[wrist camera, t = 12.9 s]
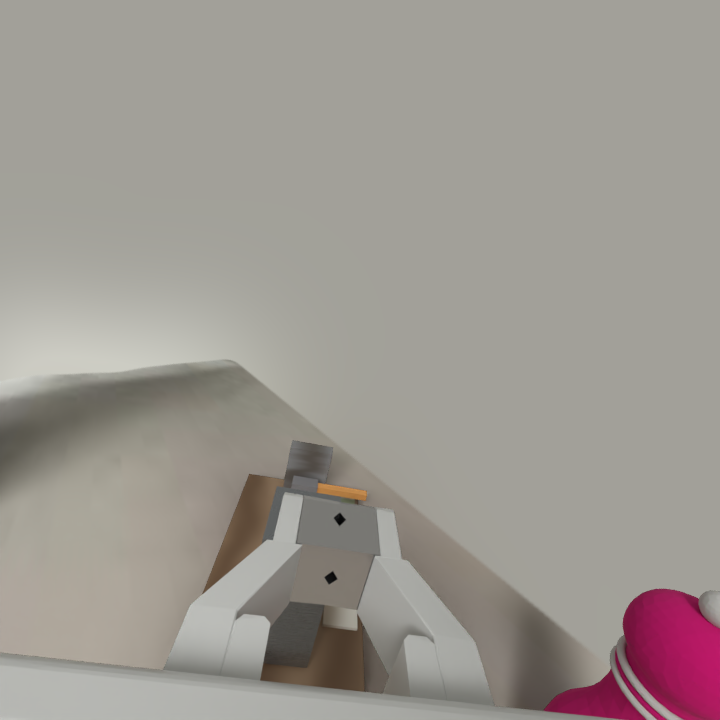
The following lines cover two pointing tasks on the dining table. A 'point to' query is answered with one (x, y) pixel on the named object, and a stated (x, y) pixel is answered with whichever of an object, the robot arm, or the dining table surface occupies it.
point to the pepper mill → (658, 663)
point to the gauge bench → (337, 625)
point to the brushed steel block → (292, 606)
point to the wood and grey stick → (327, 488)
